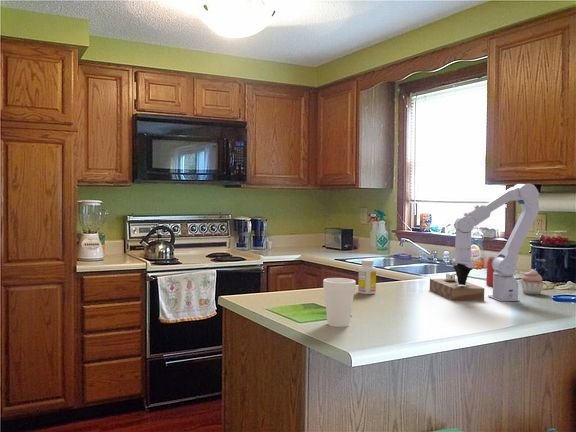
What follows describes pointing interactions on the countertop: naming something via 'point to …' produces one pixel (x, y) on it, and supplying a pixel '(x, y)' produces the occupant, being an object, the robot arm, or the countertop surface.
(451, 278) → the peg far
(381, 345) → the countertop surface
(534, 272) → the cupcake
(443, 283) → the walnut block
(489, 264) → the beer can
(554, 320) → the countertop surface
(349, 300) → the foam cup
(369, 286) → the supplement bottle
